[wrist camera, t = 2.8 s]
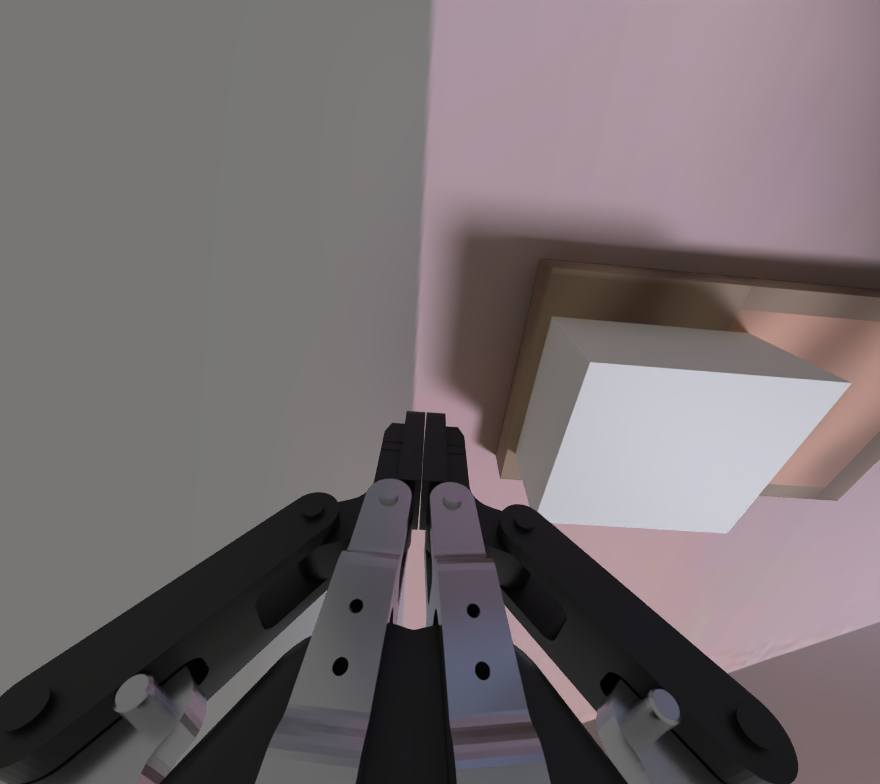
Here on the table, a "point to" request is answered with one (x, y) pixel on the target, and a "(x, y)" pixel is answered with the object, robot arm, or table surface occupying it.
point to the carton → (663, 423)
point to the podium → (736, 310)
